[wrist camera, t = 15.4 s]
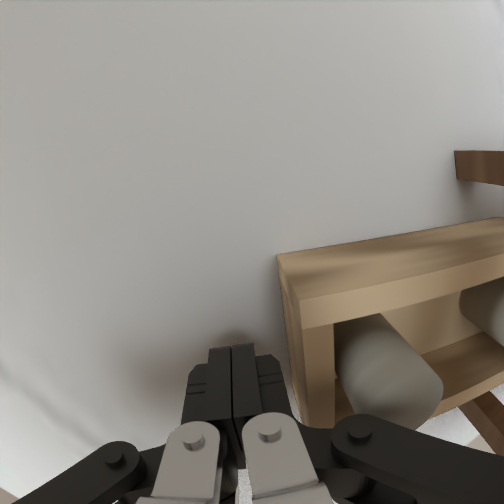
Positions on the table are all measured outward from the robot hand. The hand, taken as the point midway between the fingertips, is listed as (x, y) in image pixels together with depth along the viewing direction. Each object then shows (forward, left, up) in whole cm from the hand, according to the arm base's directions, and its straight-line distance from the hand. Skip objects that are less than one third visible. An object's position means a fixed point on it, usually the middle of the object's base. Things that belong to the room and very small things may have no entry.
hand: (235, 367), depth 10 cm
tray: (+8, 0, -2) cm, 8 cm away
